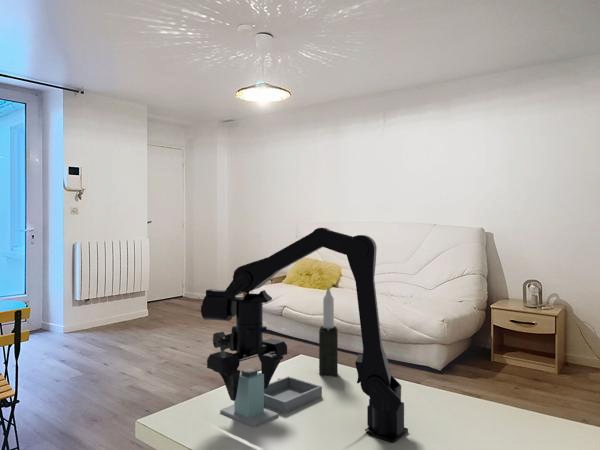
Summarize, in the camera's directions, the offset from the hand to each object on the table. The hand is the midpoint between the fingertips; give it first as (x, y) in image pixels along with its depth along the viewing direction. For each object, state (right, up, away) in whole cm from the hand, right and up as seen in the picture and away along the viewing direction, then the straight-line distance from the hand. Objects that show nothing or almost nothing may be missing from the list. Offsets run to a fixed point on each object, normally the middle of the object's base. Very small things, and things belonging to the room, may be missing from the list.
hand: (249, 394), depth 92 cm
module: (0, -4, 0) cm, 4 cm away
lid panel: (0, -5, 0) cm, 5 cm away
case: (+8, -5, +9) cm, 13 cm away
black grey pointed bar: (+19, -6, +28) cm, 34 cm away
